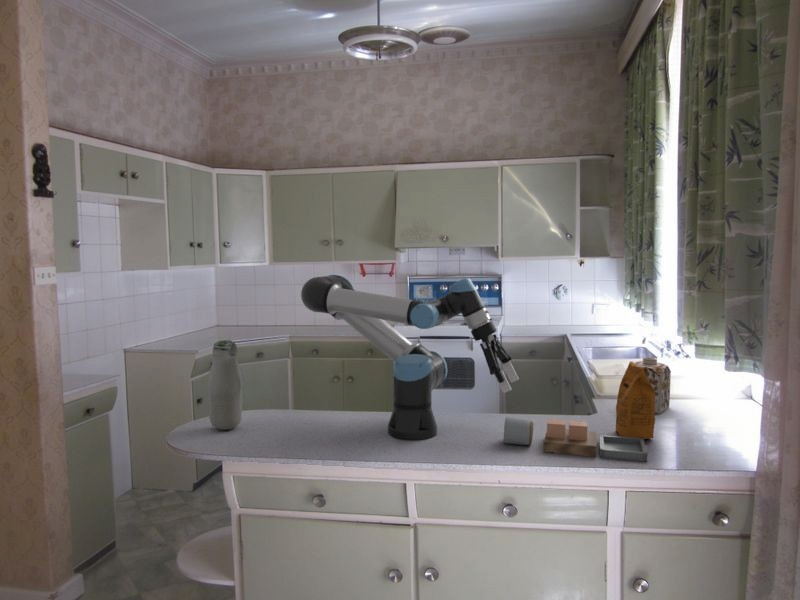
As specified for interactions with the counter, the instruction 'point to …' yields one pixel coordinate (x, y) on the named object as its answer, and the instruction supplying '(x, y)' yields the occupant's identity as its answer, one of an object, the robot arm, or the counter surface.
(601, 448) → the tray
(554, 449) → the board
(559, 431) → the salmon pink block
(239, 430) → the counter surface
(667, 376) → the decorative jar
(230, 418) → the glass bottle
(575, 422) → the salmon orange block
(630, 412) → the coffee package
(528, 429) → the ceramic mug
